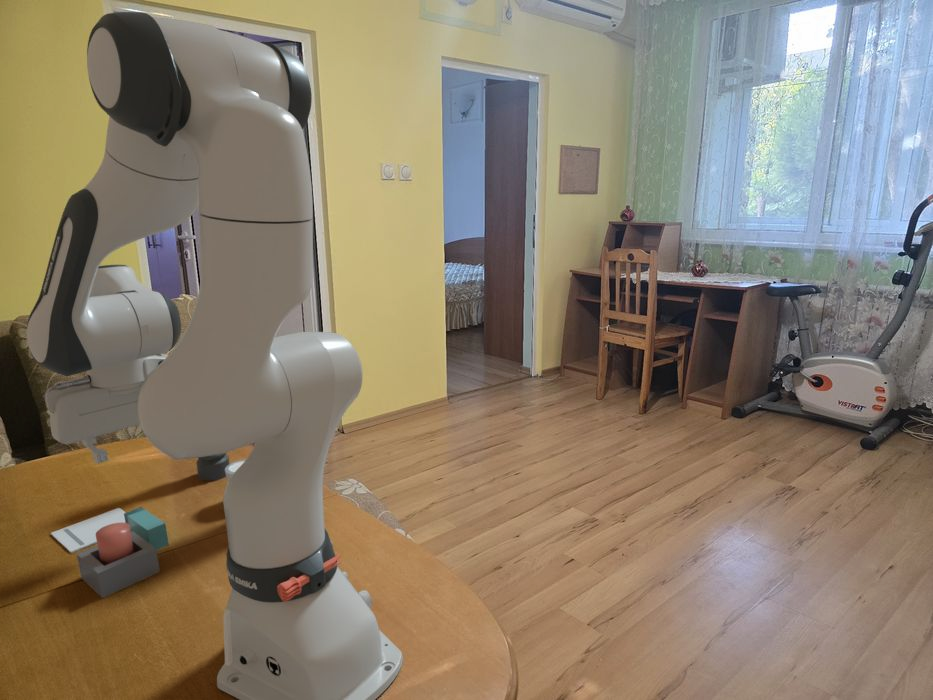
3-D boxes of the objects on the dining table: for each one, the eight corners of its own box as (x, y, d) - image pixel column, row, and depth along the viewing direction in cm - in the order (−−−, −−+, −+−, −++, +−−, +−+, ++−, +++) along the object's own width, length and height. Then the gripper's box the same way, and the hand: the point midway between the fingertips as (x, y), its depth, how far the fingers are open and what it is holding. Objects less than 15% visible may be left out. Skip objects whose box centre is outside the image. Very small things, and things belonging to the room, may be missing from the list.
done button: (139, 558, 90) (134, 528, 89) (108, 572, 87) (102, 541, 86) (127, 548, 93) (122, 519, 92) (96, 561, 89) (90, 531, 88)
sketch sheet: (141, 525, 105) (141, 523, 105) (71, 553, 96) (70, 551, 96) (119, 509, 110) (119, 507, 110) (50, 534, 102) (50, 532, 102)
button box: (159, 571, 91) (155, 548, 90) (102, 598, 85) (97, 573, 84) (136, 553, 96) (133, 531, 95) (81, 577, 90) (76, 554, 89)
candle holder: (216, 482, 120) (200, 363, 115) (191, 478, 122) (175, 361, 117) (236, 470, 126) (223, 355, 120) (213, 466, 128) (198, 353, 122)
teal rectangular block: (168, 545, 98) (165, 523, 97) (151, 552, 96) (147, 530, 95) (144, 527, 104) (141, 506, 103) (127, 534, 102) (123, 513, 101)
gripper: (49, 389, 83) (67, 480, 87) (192, 358, 99) (202, 437, 102) (34, 381, 87) (51, 468, 90) (174, 353, 102) (184, 428, 106)
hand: (132, 451), depth 96 cm, fingers open, 8 cm apart
